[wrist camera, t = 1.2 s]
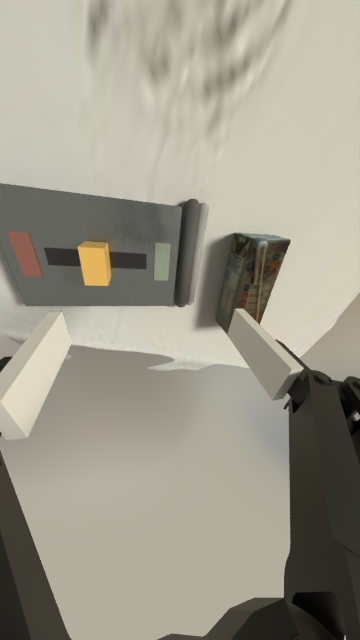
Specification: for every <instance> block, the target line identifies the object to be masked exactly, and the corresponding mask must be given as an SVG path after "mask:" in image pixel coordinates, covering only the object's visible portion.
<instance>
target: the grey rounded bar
mask: <svg viewBox="0 0 360 640" xmlns="http://www.w3.org/2000/svg"><path fill="white" fill-rule="evenodd" d="M208 210H209V208H208V205H207V204H206V203H201V204H199V202H198V201H197V200H196V199H190V200H188V201H187V202H186V204H185V209H184V219H183V228H182V238H181V248H180V258H179V267H178V277H177V287H176V297H175V304H176V305H177V306H178V307H184V306H185V305H186V304H187V305H191V304H193V301H194V295H195V289H196V283H197V277H198V271H199V265H200V259H201V253H202V247H203V241H204V235H205V229H206V223H207V216H208Z"/></svg>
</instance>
